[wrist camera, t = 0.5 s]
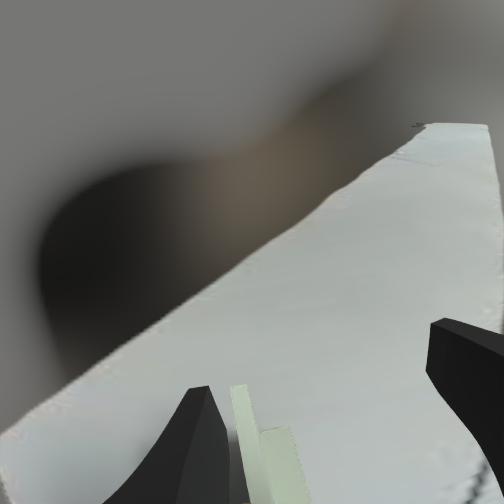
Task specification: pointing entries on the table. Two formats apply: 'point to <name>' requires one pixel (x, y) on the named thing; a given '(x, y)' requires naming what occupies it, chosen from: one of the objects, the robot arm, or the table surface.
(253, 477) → the curved green slab
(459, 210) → the table surface
